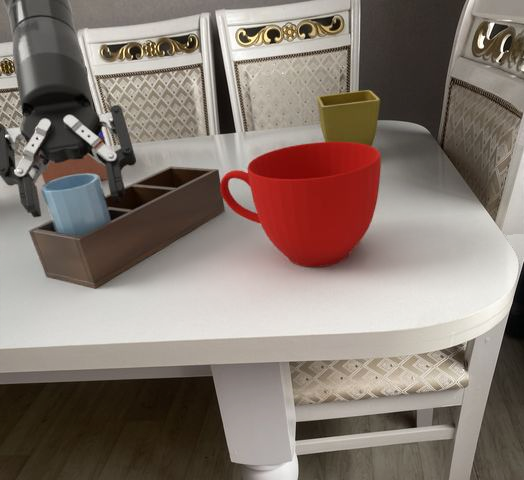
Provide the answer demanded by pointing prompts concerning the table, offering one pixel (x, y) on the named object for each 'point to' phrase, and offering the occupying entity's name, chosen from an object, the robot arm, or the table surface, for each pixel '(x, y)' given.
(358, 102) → the flower pot
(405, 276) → the table surface
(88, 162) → the house
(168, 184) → the compartment box
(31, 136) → the robot arm
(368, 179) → the ceramic cup
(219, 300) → the table surface
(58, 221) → the blue cup
